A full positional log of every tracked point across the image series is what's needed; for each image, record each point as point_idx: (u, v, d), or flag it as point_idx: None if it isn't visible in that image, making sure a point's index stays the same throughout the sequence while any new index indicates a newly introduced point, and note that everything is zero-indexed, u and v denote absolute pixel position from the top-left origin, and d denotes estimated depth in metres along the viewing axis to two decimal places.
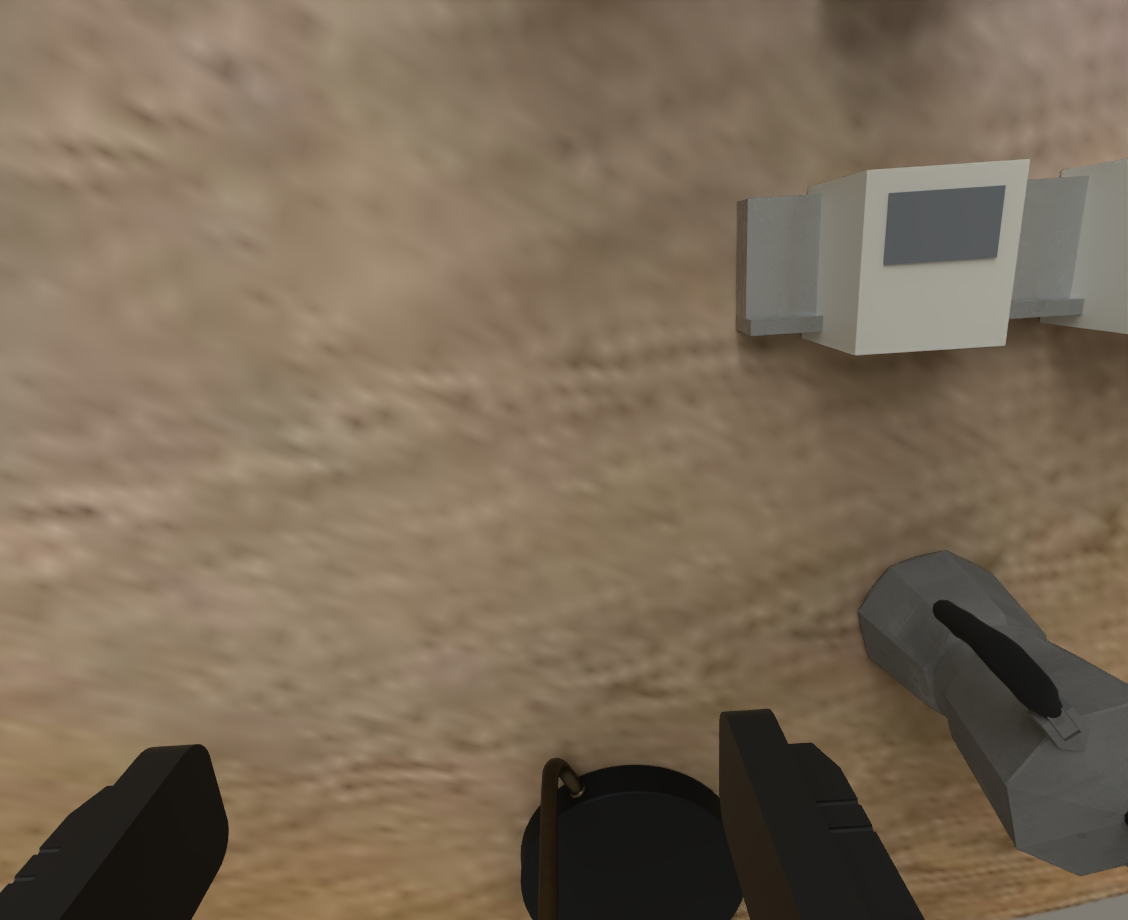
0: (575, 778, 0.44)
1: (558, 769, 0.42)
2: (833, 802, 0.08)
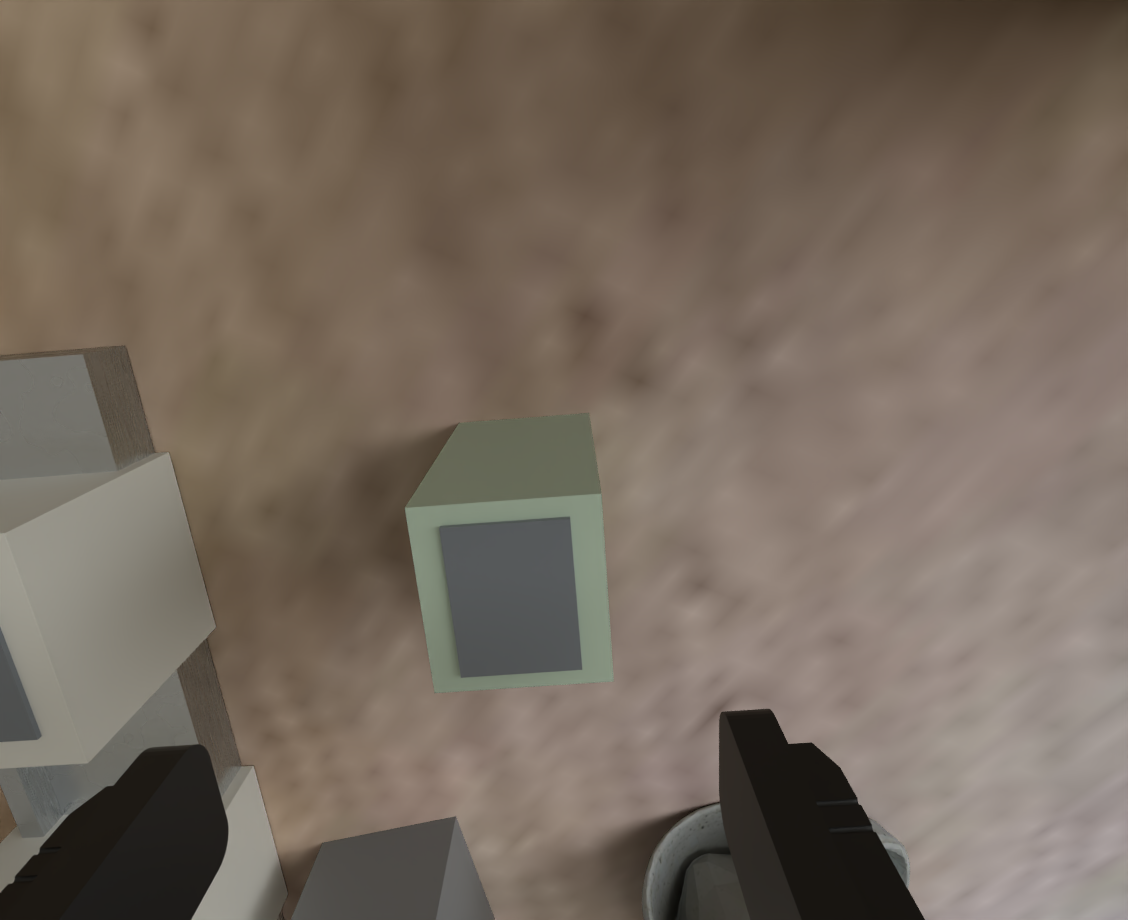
0: None
1: None
2: (833, 802, 0.08)
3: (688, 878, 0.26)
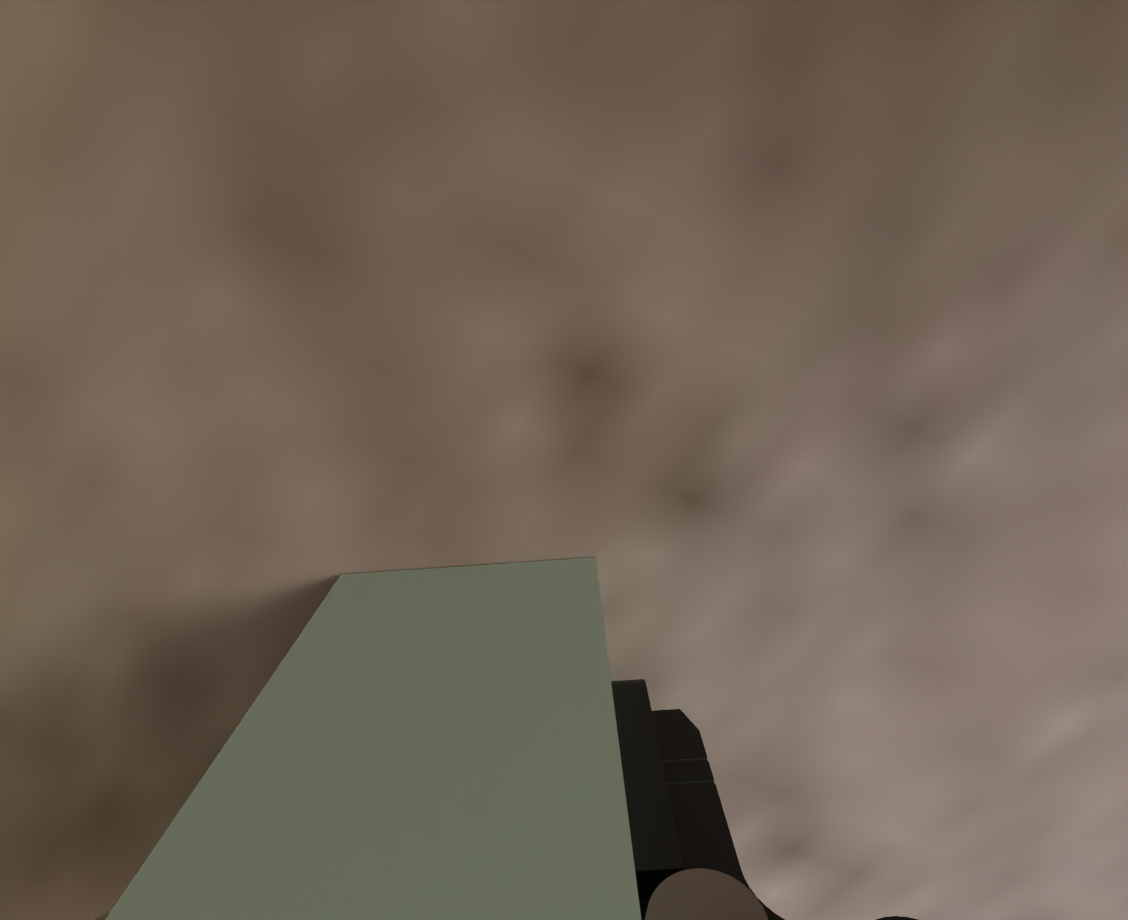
0: None
1: None
2: (685, 759, 0.09)
3: None
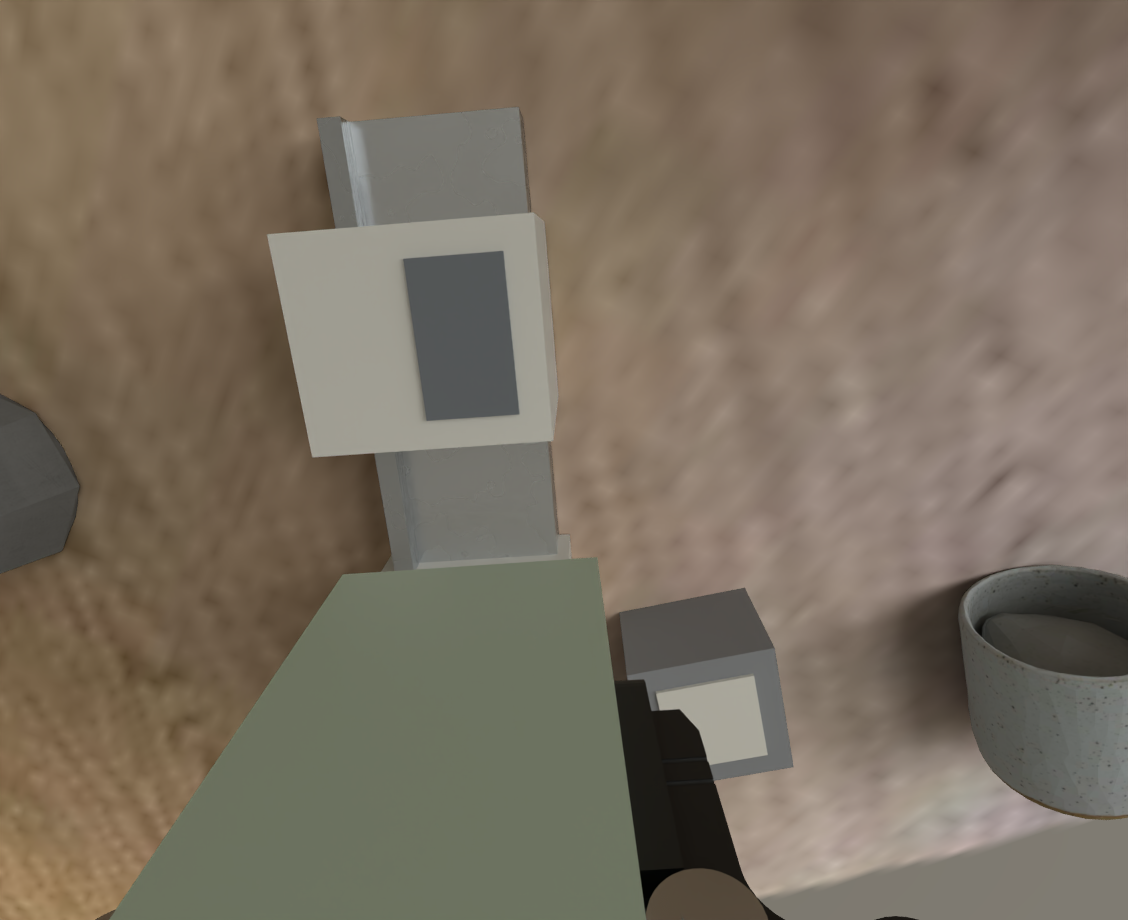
0: None
1: None
2: (685, 759, 0.09)
3: (990, 629, 0.29)
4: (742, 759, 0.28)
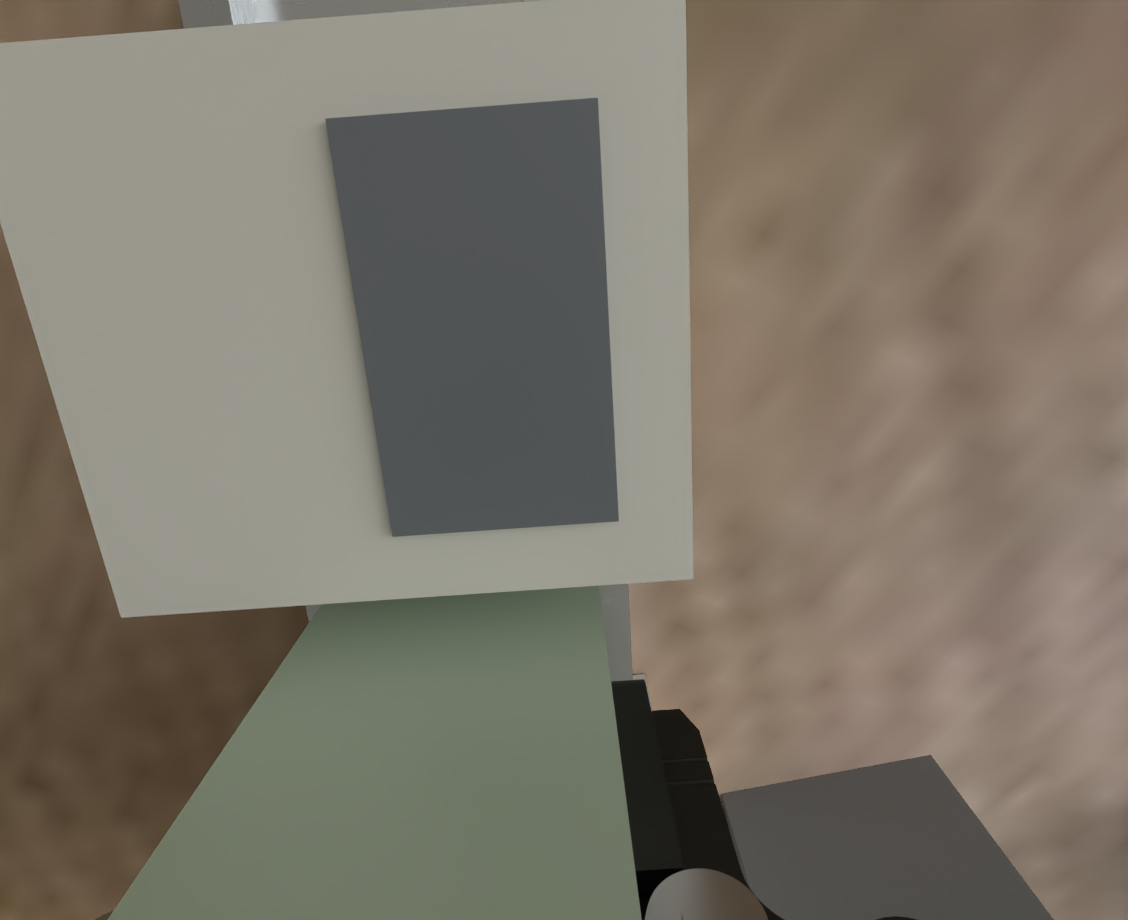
0: None
1: None
2: (685, 759, 0.09)
3: None
4: None
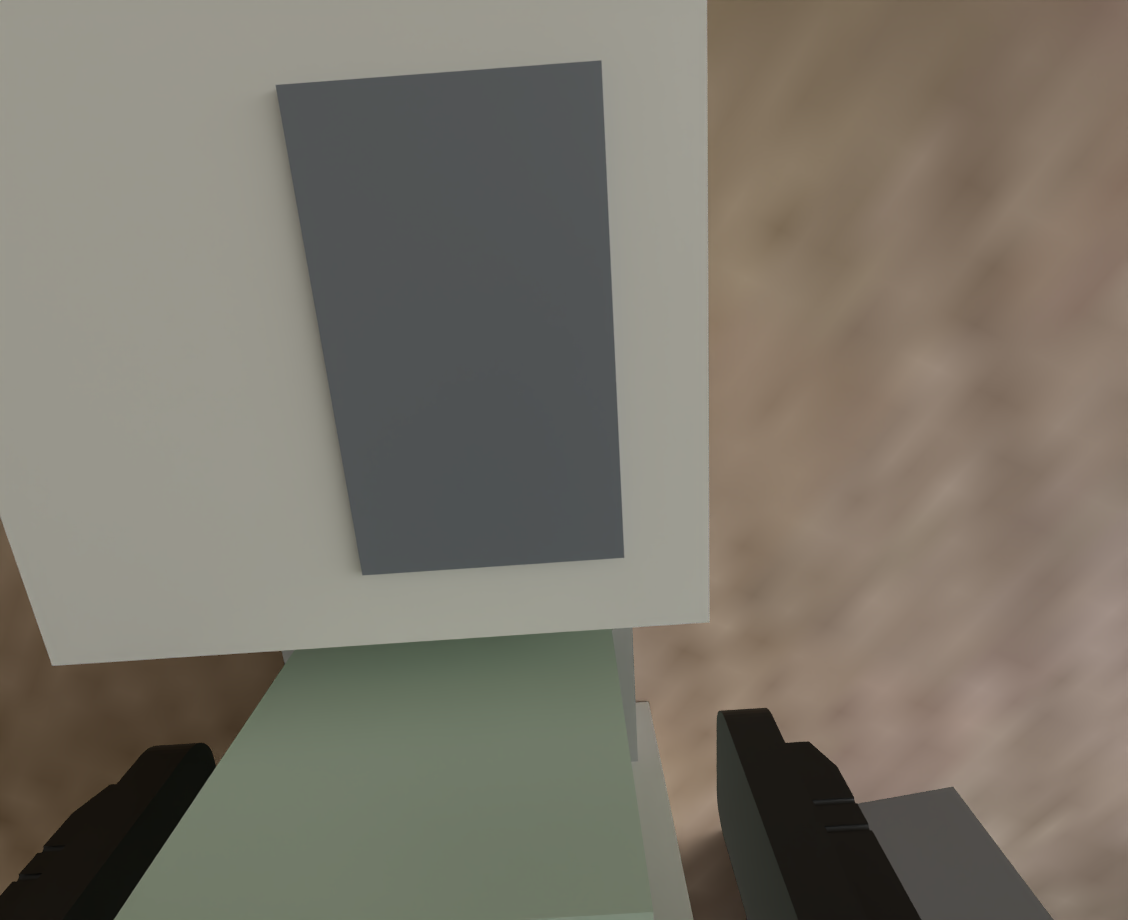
0: None
1: None
2: (830, 801, 0.08)
3: None
4: None
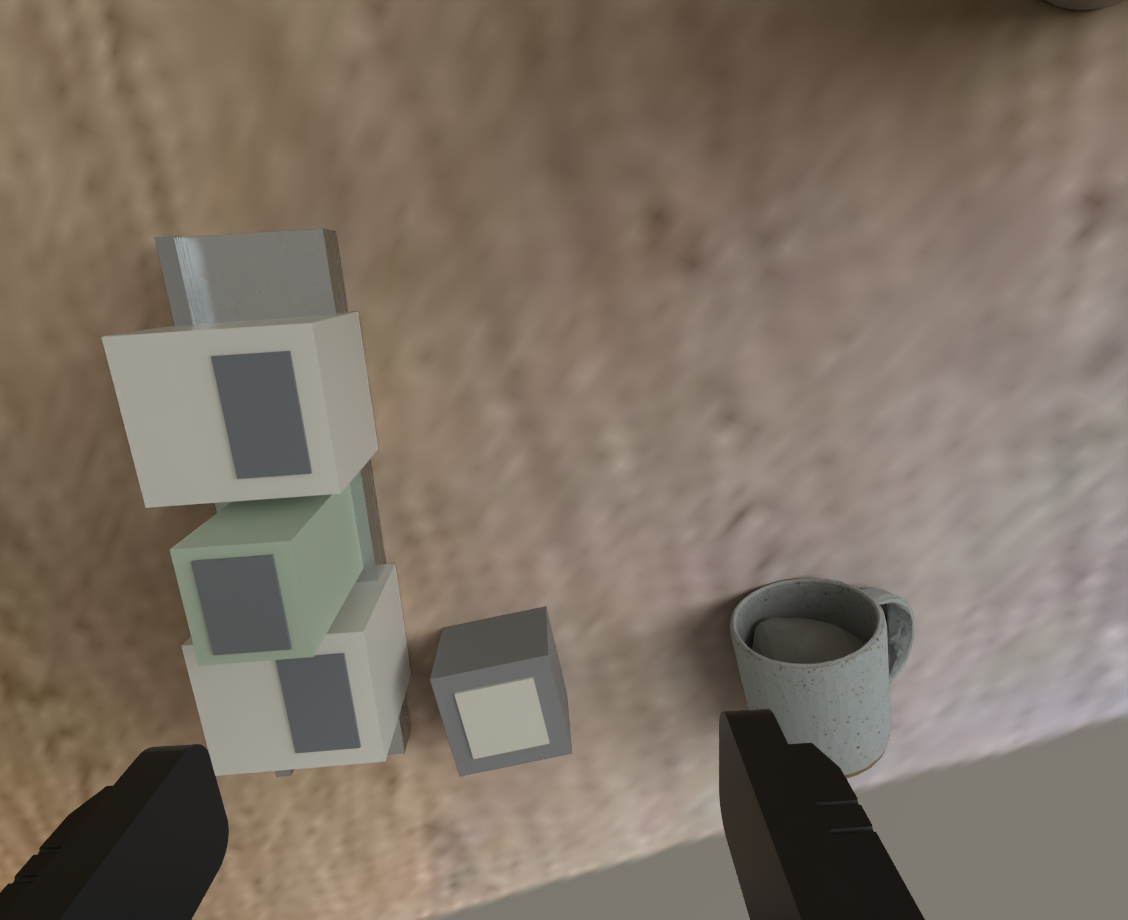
0: None
1: None
2: (833, 802, 0.08)
3: (758, 630, 0.36)
4: (530, 747, 0.34)
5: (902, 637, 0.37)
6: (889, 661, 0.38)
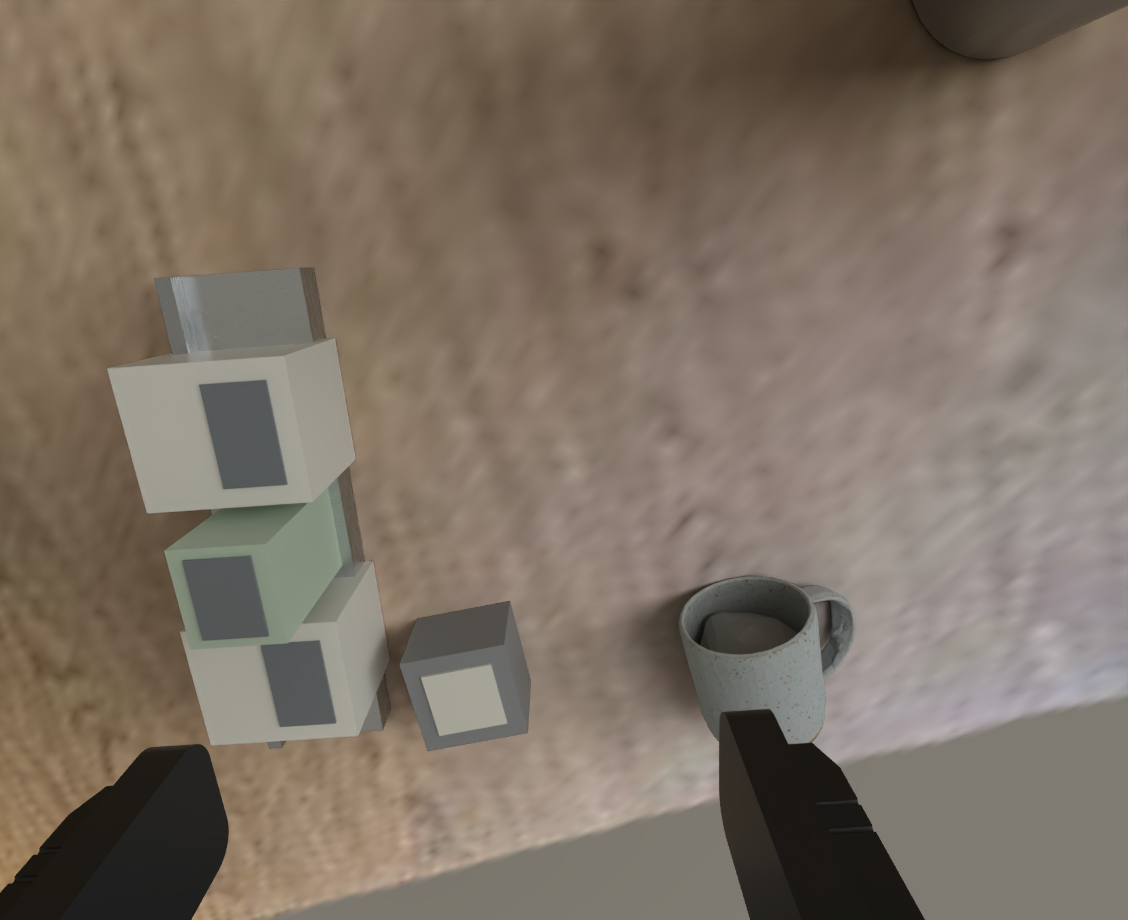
0: None
1: None
2: (833, 802, 0.08)
3: (707, 624, 0.39)
4: (490, 727, 0.38)
5: (844, 631, 0.40)
6: (832, 653, 0.41)
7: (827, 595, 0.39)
